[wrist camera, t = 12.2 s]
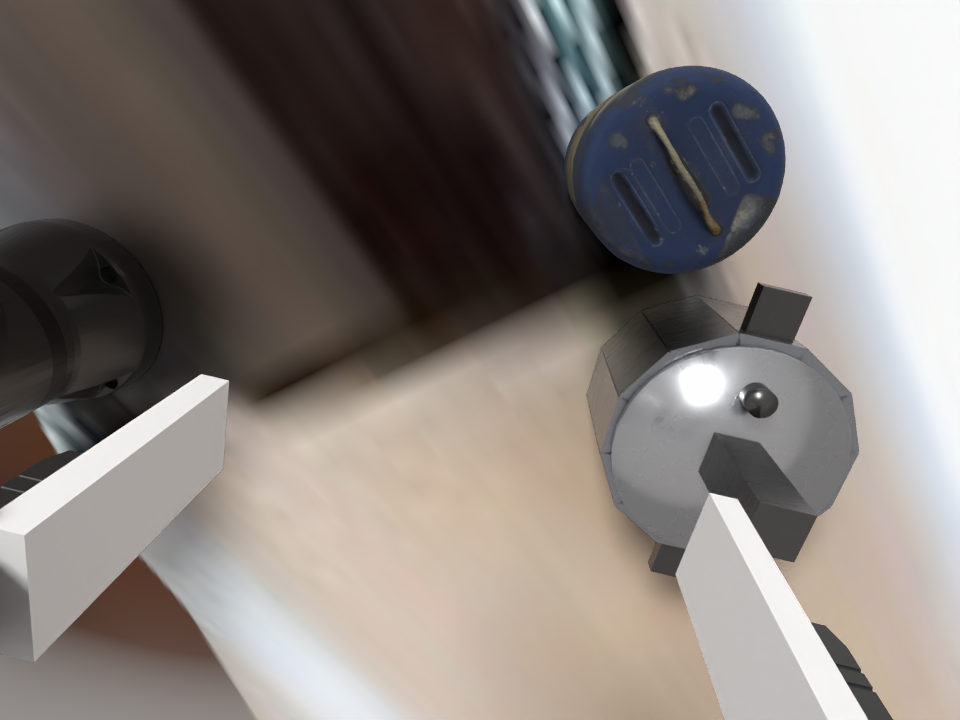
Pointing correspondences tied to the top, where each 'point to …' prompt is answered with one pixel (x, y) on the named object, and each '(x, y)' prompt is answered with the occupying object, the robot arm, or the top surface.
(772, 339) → the cooker pot
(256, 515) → the top surface
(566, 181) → the canister
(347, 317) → the top surface
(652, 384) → the lid
